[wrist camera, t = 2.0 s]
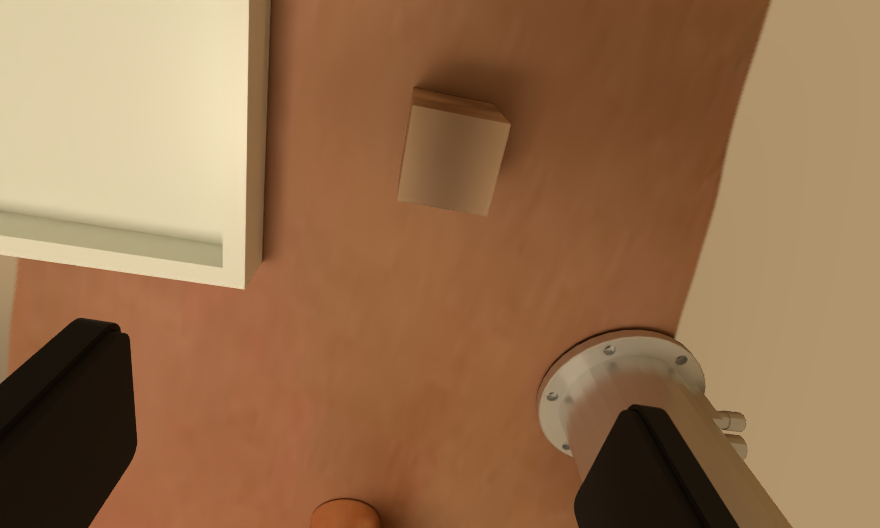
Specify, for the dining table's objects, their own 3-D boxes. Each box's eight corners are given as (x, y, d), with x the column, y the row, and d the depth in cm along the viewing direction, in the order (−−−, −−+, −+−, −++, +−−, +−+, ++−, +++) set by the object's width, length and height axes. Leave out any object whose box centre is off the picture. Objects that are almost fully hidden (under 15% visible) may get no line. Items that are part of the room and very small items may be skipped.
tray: (272, -71, 23) (250, -85, 20) (261, 261, 31) (244, 289, 28) (-158, -173, 20) (-261, -207, 17) (-49, 215, 28) (-107, 239, 25)
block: (492, 103, 27) (511, 124, 22) (474, 179, 29) (487, 216, 24) (413, 87, 26) (412, 105, 21) (400, 166, 28) (396, 200, 23)
